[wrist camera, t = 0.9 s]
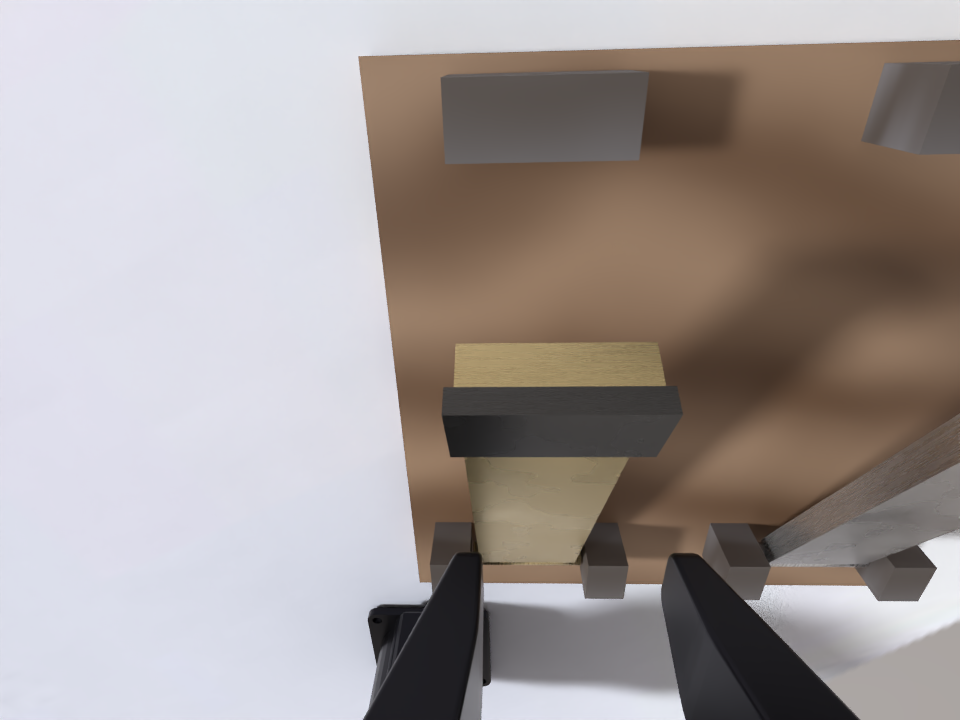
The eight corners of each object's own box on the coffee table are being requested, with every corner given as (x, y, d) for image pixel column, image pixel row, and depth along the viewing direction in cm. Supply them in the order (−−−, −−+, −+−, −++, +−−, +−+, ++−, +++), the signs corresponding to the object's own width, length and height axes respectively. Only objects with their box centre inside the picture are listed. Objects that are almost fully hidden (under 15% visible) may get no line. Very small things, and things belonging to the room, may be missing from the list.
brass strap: (577, 544, 24) (580, 582, 23) (474, 543, 24) (473, 581, 23) (673, 341, 11) (688, 414, 10) (440, 344, 11) (436, 415, 10)
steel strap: (851, 545, 24) (864, 584, 23) (745, 545, 24) (754, 583, 23) (1313, 336, 10) (1389, 412, 9) (1061, 338, 10) (1113, 413, 10)
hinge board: (870, 559, 26) (927, 636, 23) (423, 557, 27) (412, 630, 24) (1123, 35, 16) (1304, 29, 12) (369, 56, 16) (335, 56, 13)
